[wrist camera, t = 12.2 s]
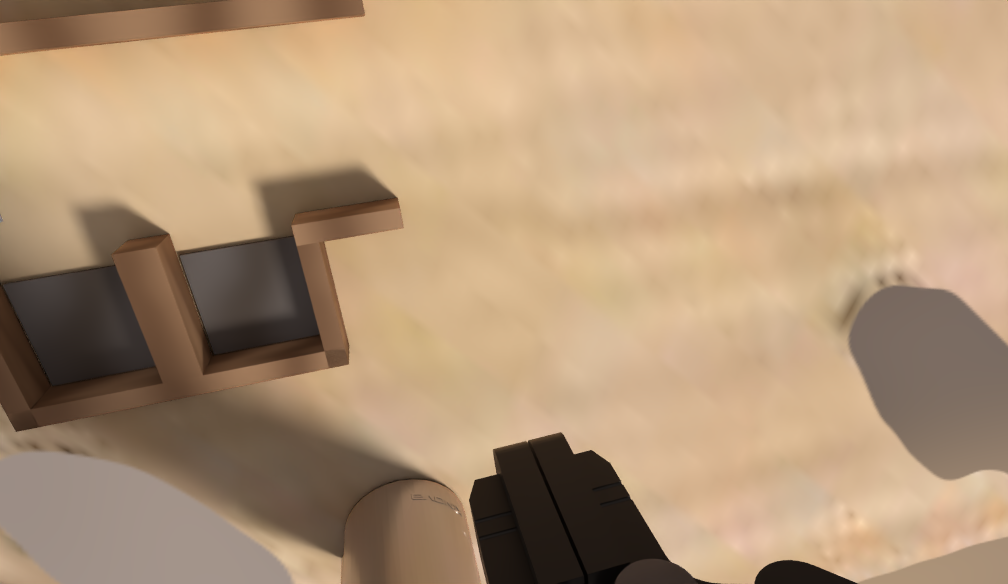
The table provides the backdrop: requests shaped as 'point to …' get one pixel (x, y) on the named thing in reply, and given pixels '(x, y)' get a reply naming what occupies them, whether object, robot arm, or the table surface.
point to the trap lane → (176, 271)
